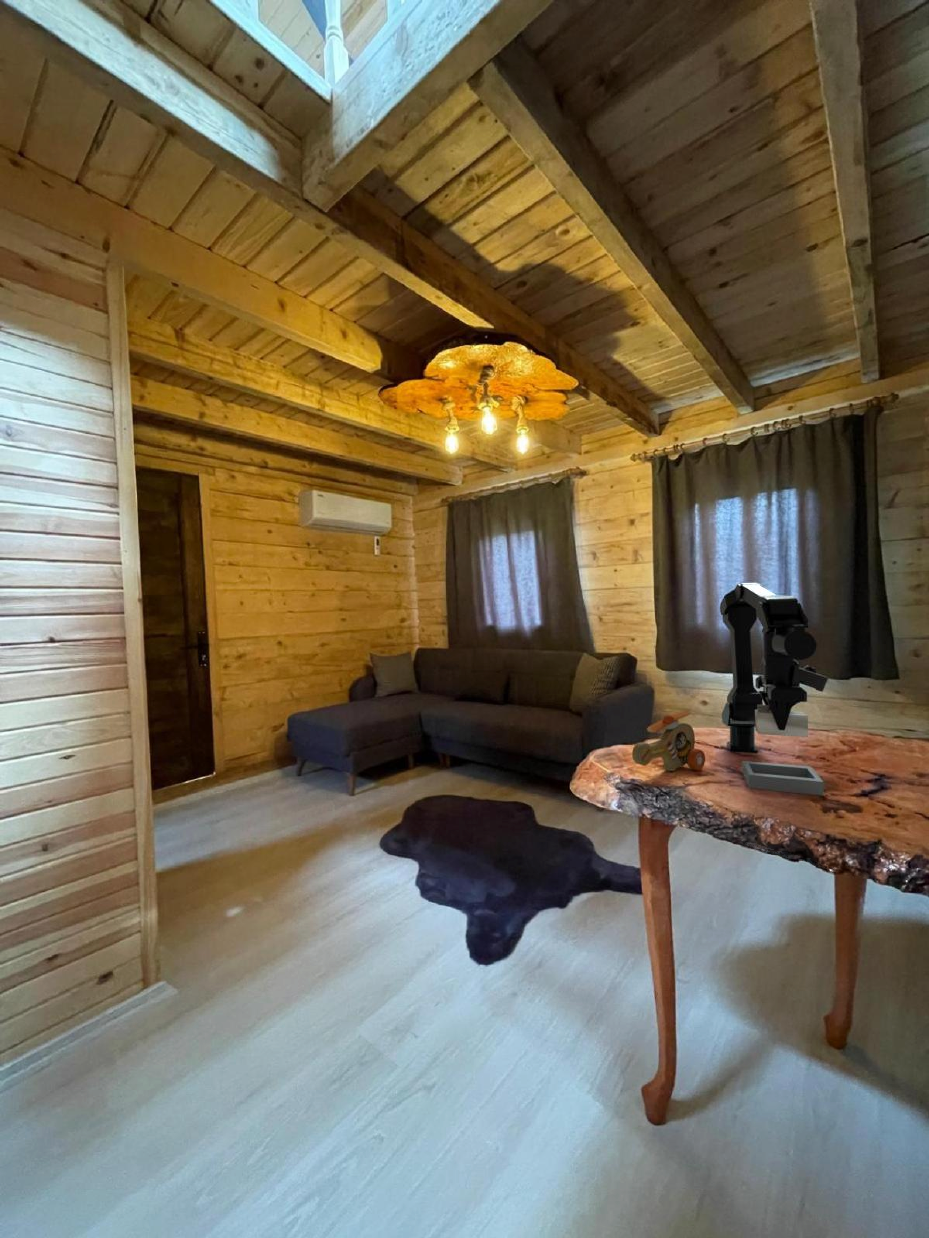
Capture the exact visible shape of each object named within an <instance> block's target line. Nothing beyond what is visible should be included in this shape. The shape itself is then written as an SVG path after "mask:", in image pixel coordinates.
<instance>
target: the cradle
mask: <svg viewBox="0 0 929 1238" xmlns="http://www.w3.org/2000/svg"><path fill="white" fill-rule="evenodd" d="M742 775H743V777H744V780H745V782H746V785H747V787H748V788H749V789H753V790H754V789H755V790H763V791H764V790H765V791H773V792H774V791H775V792H782V793H794V794H804V795H813V796H824V781H823V779H822V778H821V777H820V776H819V775H818V773H816V771H815V769H814V768H812V766H810V765H809V766H808V765H796V764H784V763H772V762H771V763H770V762H762V761H761V762H759V761H750V760H749V761H747V760H742Z"/></svg>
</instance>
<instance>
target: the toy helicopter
mask: <svg viewBox="0 0 929 1238" xmlns="http://www.w3.org/2000/svg"><path fill="white" fill-rule="evenodd" d="M691 712H692V711H691V710H689V709H682V710H679V711H677V712H674V713H673V714H666V715H664V716H663V719H661V720H659V721H657V722H655V723H653V724H651V725H649V726H648V727H646V730H647V733H656V732H658V731H660V730H663V729H665V731H664V732H663V734H662V736H661V738H660V739H659V740H655V741H653V742H650V743H645V742H637V743H636V744H635V745H634V746H633V748H632V752H631V753H632V755H631V756H632V759H633V761H634V763H635V764H637V765H641V766H647V765H649V764H650V763H651V762H652V760H654V759H658V758H661V760H662V761H663V769H664V770H665V771H667V770H668V771H667V772H670V771H674V770H675V771H676V769H677V768H680V767H684V766H685V765H686V764H687V766H688V768H689V769H691V770H694V771H697V770H699V771H701V770H702V769H703V768H704V767H705V764H706V756H705V752H704V751H703V749H700V748H695V745H696V744H695V742H696V737H695V735H696V734H695V731H694V729H693V727H692V726H691V725H690V724H689V723H686V722H679V720H680V719H682V718H685V717H687V716H690V715H691ZM675 771H674V772H675Z"/></svg>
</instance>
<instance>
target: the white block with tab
mask: <svg viewBox="0 0 929 1238" xmlns="http://www.w3.org/2000/svg"><path fill="white" fill-rule="evenodd" d="M755 732H756V733H757V734H758V735H766V736H767V735H769V736H782V737H783V736H784V737H785V736H786V737H798V738H800V737H801V738H809V716H808V714H807V713H805V712H804V711H793V710H791V711H790V714H789V718H788V721H787V724H786V728H785V730H779V729H778V727H777V725H776V722H775V720H774V717H773V715H772V712H771V710H769V706H768V705H765V704H763V705H757V710H755Z"/></svg>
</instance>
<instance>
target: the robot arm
mask: <svg viewBox="0 0 929 1238" xmlns="http://www.w3.org/2000/svg"><path fill="white" fill-rule="evenodd" d="M719 613H720V615H721V616H722V622H723V624H724V625H725V627H726V628H727V629H728V631H729V632H730V634H729V636H730V651H731V652H730V653H731V670H732V672H731V673H732V688H731V689H730V691H729V692H728V695H727V696H726V703H725V704H724V707H723V710H722V712H721V722H722V723H723V724H724V725H725V726H726V727H729V741H726V744H727V746H728V750H730V751H739V752H751V753H753V752H754V753H758V752H759V749H758V747H757V746H756V743H755V742H756V741H755V740H756V739H755V737H756V736H755V735H756V734H755V733H756V730H755V710H757V705H768V706H769V710H771V712H772V715H773V717H774V720H775V722H776V725H777V727H778V729H779V730H785V728H786V724H787V721H788V718H789V714H790V711H792V709H793V707H794V706H795V705H797V704H800V703H806V702H807V703H808V691H806V690H805V689H804V688H803V687H802V686H800V685H804V686H806V687H809V688H812V689H815V690H816V691H818V692H821V693H823V692H824V689H825V688H826V685H827V683H828V681H829V677H828V676H825V675H823V674H819V673H818V672H817V669H816V668H815V667H813V666H809V665H805V666H803V667H800V663H799V662H798V661H803V660H807V659H809V658H811V657H813V655H814V654H815V653H816V650H817V641H816V640H815V637H814V636H813V635H812V634H811V633H810V632H807V631H806V630H808V629H809V619H808V616H807V614H806V613H805V611H804V609H803V607H802V604H801V602H800V601H799V599H797V597H796V596H793V595H780V594H778V595H777V594H776V593H773V592H772V591H770V590H768V589H766V588H765V587H763V586H762V585H761V583H758V582H744V583H743V582H741V583H738V584H736V585H735V588H734V589H733V590H731V591H729V592H728V593H726V594H724V595H723V597H722V599H721V602H720V605H719ZM757 620H758V621H759V623H760V625H761V626H762V629H761V633H762V636H763V637H762V644H763V645H762V648H763V649H762V650H763V651H762V652H763V653H762V655H763V657H762V658H761V664H762V665H763V674H762V675H761V674H760V675H758V676H757V677H756V678H755V679H754V671H753V670H754V669H753V653H752V637H751V636H752V635H751V629H752V628H753V626H754V625H755V623H756V622H757ZM797 660H798V661H797ZM754 680H755V684H754ZM761 688H762V690H761ZM757 689H758V690H759V689H760V690H759V691H758V690H757Z"/></svg>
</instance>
